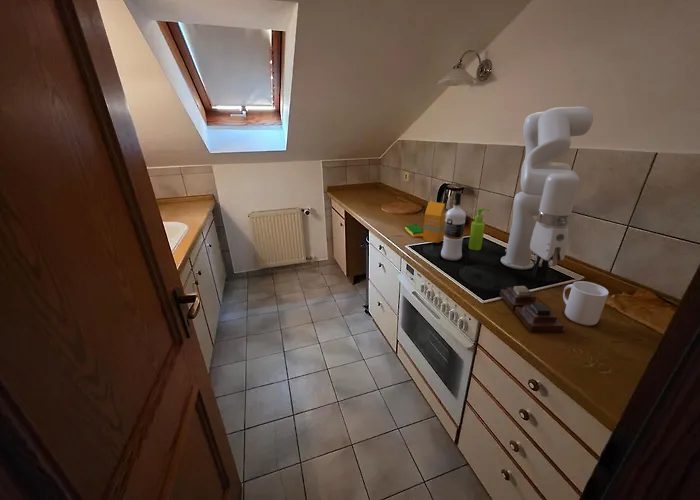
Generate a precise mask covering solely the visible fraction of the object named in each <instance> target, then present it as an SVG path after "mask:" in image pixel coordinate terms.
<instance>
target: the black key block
mask: <svg viewBox="0 0 700 500" xmlns="http://www.w3.org/2000/svg"><path fill="white" fill-rule="evenodd" d="M530 308H531V305H523V307H516V308H515V311H514V314H515V315H516V316H517V318H518V319H519V320H520V321H521V323H523V325H524V326H525V327H526V328H527V329H528V330H529V332H530V333H562V332H563V330H564V327H565V326H564V324H562V322H561V321H560V320H559V319H558V316H556V315H555V313H554V312H552V310H550V314H549V315H536V314H535V313H534V312H533V311H532V310H531V309H530Z"/></svg>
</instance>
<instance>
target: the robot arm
mask: <svg viewBox="0 0 700 500" xmlns="http://www.w3.org/2000/svg"><path fill="white" fill-rule="evenodd" d="M593 120H594V114H593V111H592V109H591V108H590V107H588V106H558V107H551V108H548V109H547V110H545V111H537V112H533V113H530V114H528V115H527V116H526V117H525V119H524V122H523V126H522V135H523V141H524V146H525V155H524V159H523V162H522V165H521V170H520V189H521V191H519V192H517V193H516V194H515V195H514V198H513V207H512V209H513V210H512V211H513V212H512V219H511V226H510V230H509V237H508V240H507V241H508V242H507V247H506V248H505V249H504V252H505V255H503V256H502V257H501V258H500V262H501V264H503V265H504V266H505V267H507V268H511V269H515V270H530V269H532V274H531V276H532V277H533V278H535V279H546V278H547V274H548V270H549V268H551V267H557V266H558V261H561V262H562V261H564V259H565V256H566V253H567V248H568V243H569V231H570V230H569V227H568V226H569V223H570V219H571V217H572V211H573V207H574V204H575V200H576V197H577V193H578V188H579V185H580V177H579V175H578V173H577V172H576V171H575V170H573V169H572V167H571V166H570V164H568V163H567V162H558V161H557V162H553V161H552V160H554V159H557V158H559V157H561V156H564V154H566V153H567V152H568V151H569V150H570V148H571V144H572V143H571V141H572V140H571V137H580V136H584V135H586V134H587V133H588V132H589V131H590V129H591V127H592V125H593V123H594V122H593ZM534 217H536V220H535V218H534ZM532 255H533V256H534V259H533V260H532Z"/></svg>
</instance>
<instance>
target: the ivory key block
mask: <svg viewBox="0 0 700 500" xmlns="http://www.w3.org/2000/svg"><path fill="white" fill-rule="evenodd" d="M513 289H514V286H511V287H506V288H505V289H503V288H501V289H499V294H498V295H499V296H500V297H501V298H502V300H503V301H504V302H505V303H506V305H507V306H508V307H509V308H510V309H511V310H512V311H514V312H515V308H516V307H523V305H531V304H542V303H541V302H540V301H539V300H538V299H537V296H536V295H535V294H534V293H533V292H532V291H530V294H529V295H517V294H516V293H515V292H514V291H513Z"/></svg>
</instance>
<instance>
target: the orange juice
mask: <svg viewBox="0 0 700 500" xmlns="http://www.w3.org/2000/svg"><path fill="white" fill-rule="evenodd" d="M446 212H447V208H446V204H445V202H444V203H443V202H437V201H428V203H427V205H426V208H425V211H424V219H423V230H424V232H423V236H422V240H424V241H428V242H432V243H436V244H439V243H441V242H442V241H444V232H445V222H446V221H445V219H446Z"/></svg>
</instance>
